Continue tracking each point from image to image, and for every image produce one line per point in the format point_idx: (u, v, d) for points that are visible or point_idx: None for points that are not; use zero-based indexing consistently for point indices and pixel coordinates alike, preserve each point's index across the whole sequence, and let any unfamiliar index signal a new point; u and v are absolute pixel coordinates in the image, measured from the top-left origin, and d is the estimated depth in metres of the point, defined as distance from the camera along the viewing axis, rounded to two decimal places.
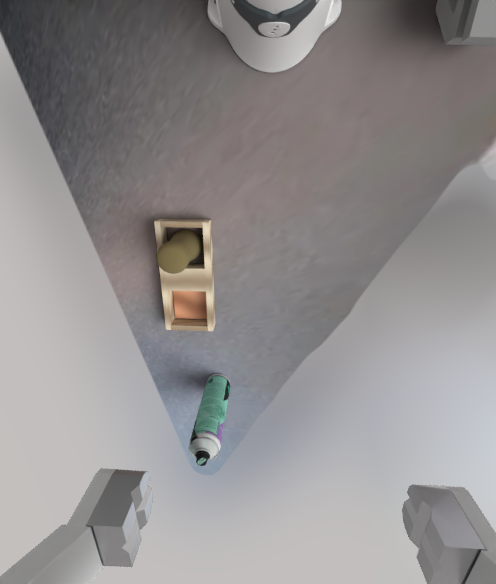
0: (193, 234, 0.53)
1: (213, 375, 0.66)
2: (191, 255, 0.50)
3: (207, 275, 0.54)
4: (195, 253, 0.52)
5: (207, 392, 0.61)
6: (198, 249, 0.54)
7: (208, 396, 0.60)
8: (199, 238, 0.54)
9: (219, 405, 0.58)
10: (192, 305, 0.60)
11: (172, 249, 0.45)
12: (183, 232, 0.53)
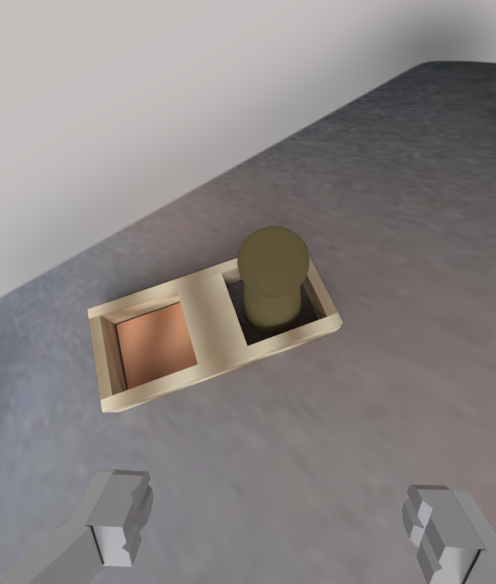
0: (300, 307, 0.28)
1: None
2: (276, 306, 0.23)
3: (236, 355, 0.25)
4: (275, 316, 0.25)
5: None
6: (278, 323, 0.27)
7: None
8: (294, 321, 0.28)
9: None
10: (153, 349, 0.29)
11: (299, 248, 0.20)
12: None
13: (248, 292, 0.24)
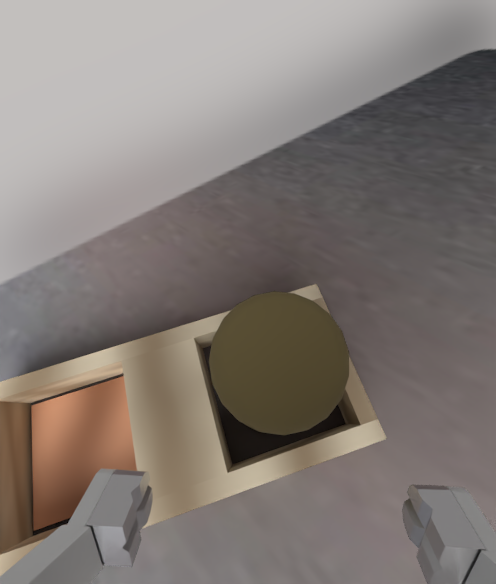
0: None
1: None
2: None
3: (207, 490, 0.15)
4: None
5: None
6: None
7: None
8: None
9: None
10: (81, 451, 0.18)
11: (332, 347, 0.10)
12: None
13: None
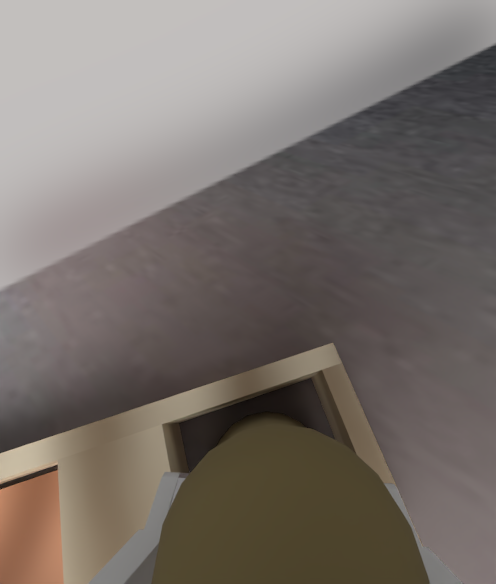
0: None
1: None
2: None
3: None
4: None
5: None
6: None
7: None
8: None
9: None
10: None
11: None
12: None
13: None
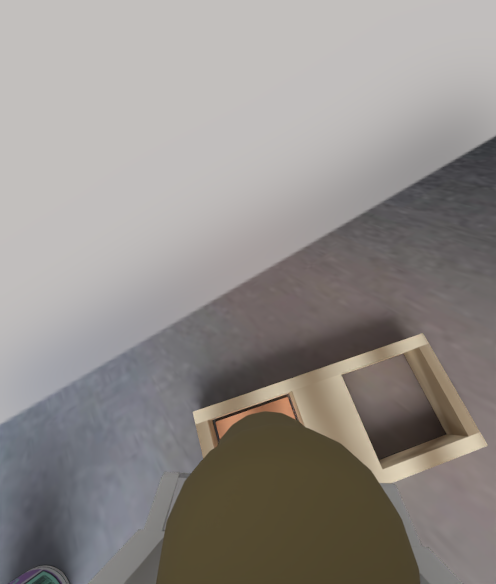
0: None
1: None
2: None
3: None
4: None
5: None
6: None
7: None
8: None
9: None
10: None
11: None
12: None
13: None
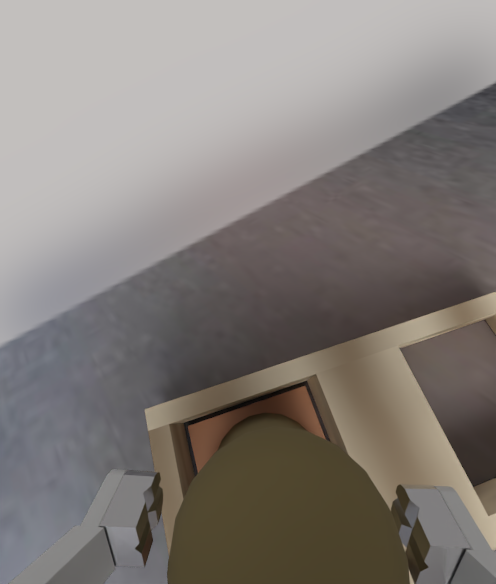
0: None
1: None
2: None
3: None
4: None
5: None
6: None
7: None
8: None
9: None
10: None
11: (386, 578, 0.05)
12: None
13: None
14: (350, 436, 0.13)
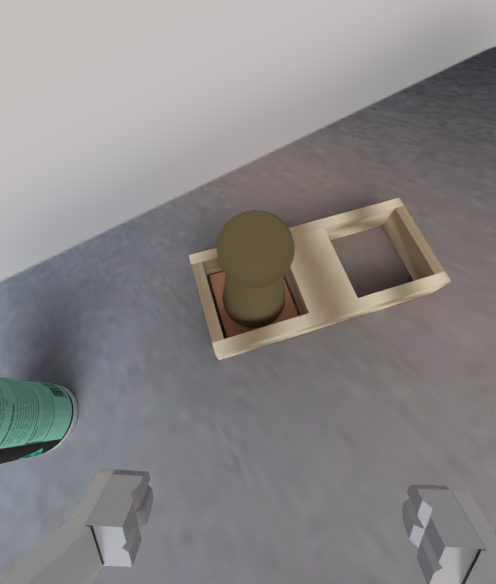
0: (283, 301, 0.27)
1: (70, 396, 0.25)
2: (258, 297, 0.22)
3: (347, 306, 0.25)
4: (256, 309, 0.24)
5: (24, 387, 0.20)
6: (260, 317, 0.25)
7: (10, 392, 0.19)
8: (277, 315, 0.27)
9: None
10: None
11: (283, 235, 0.18)
12: None
13: (228, 282, 0.22)
14: (295, 267, 0.26)
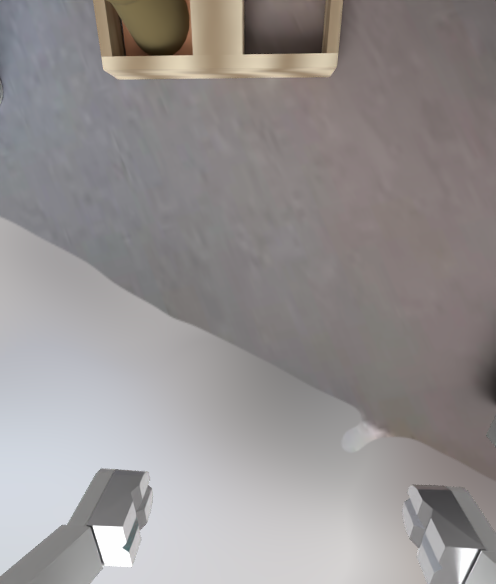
0: (179, 33, 0.27)
1: None
2: (130, 17, 0.23)
3: (229, 60, 0.27)
4: (139, 32, 0.25)
5: None
6: (149, 43, 0.27)
7: None
8: (173, 49, 0.28)
9: None
10: None
11: None
12: (180, 6, 0.26)
13: None
14: None
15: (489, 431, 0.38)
